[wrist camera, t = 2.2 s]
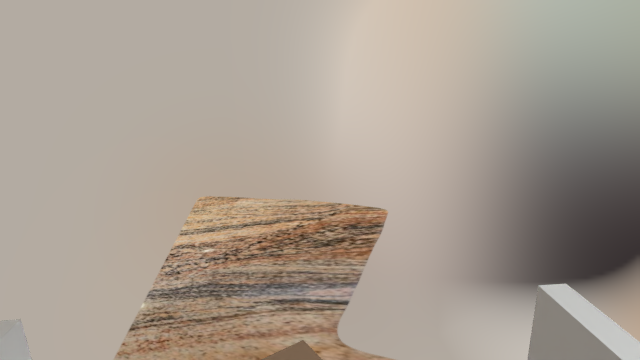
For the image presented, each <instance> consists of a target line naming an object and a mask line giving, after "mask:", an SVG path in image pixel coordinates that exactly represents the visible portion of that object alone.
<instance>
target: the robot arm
mask: <svg viewBox="0 0 640 360" xmlns="http://www.w3.org/2000/svg"><path fill="white" fill-rule="evenodd" d="M0 360H32V358H31V355H30V351H29V347H28V344H27V340H26V336H25V333H24V329H23V326H22V322H21V320H4V321H0ZM528 360H640V342H639V341H638V340H636V339H635V338H634V337H633V336H631V335H630V334H629V333H628V332H626V331H625V330H624V329H623V328H621V327H620V326H619V325H618V324H616V323H615V322H614V321H612V320H611V319H610V318H609V317H607V316H606V315H605V314H604V313H602V312H601V311H600V310H598V309H597V308H596V307H595V306H594V305H592V304H591V303H590V302H588V301H587V300H586V299H585V298H583V297H582V296H581V295H579V294H578V293H577V292H576V291H575V290H573V289H572V288H571V287H570V286H568V285H567V284H555V285H539V286H538V291H537V299H536V305H535V312H534V320H533V327H532V333H531V340H530V348H529V354H528Z"/></svg>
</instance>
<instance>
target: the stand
mask: <svg viewBox="0 0 640 360" xmlns="http://www.w3.org/2000/svg"><path fill="white" fill-rule="evenodd" d="M262 360H322V359H321V358H320V357H319V356H318V355H317V354H316V353H315V352H314V351H313V350H312V349H311V348H310V347H309V346H308V345H307V344H306V343H305V342H304V341H300V342H298V343H296V344H294V345H292V346H290V347H288V348H285V349H283V350H281V351H279V352H277V353H275V354H273V355H270V356H268V357H266V358H264V359H262Z"/></svg>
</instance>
